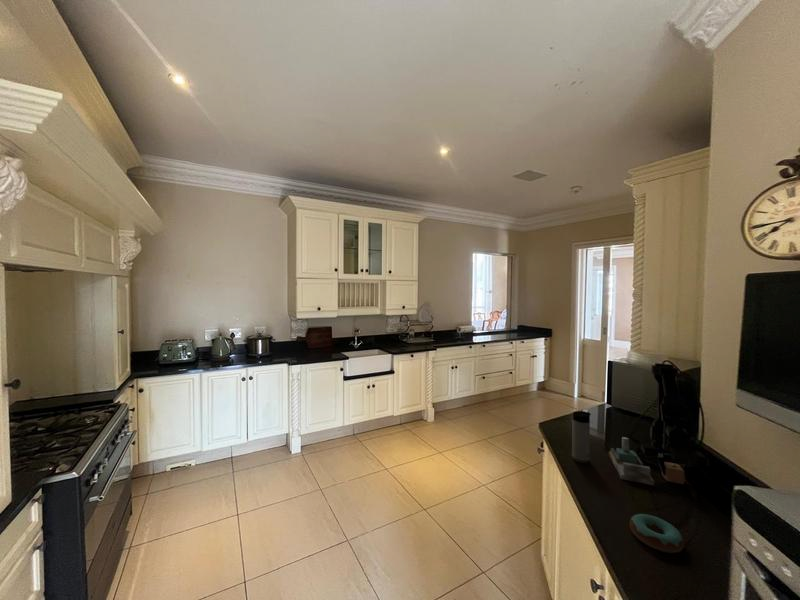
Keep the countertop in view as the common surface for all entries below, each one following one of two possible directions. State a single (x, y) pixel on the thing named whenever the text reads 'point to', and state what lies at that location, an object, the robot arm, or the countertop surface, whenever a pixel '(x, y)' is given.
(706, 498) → the countertop surface
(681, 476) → the box
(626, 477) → the frame
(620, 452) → the ram
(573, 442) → the travel mug
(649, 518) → the donut
